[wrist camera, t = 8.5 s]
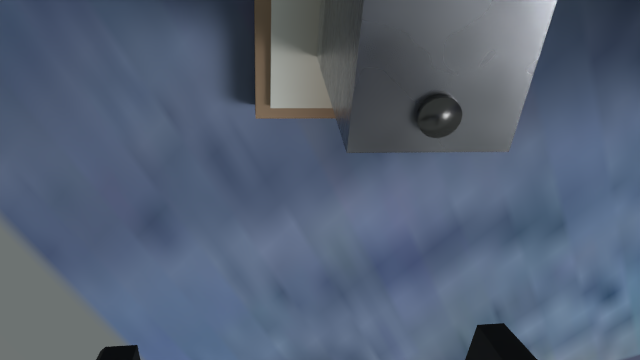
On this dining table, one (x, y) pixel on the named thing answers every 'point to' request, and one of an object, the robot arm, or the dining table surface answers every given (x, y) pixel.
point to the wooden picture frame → (288, 61)
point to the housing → (429, 71)
